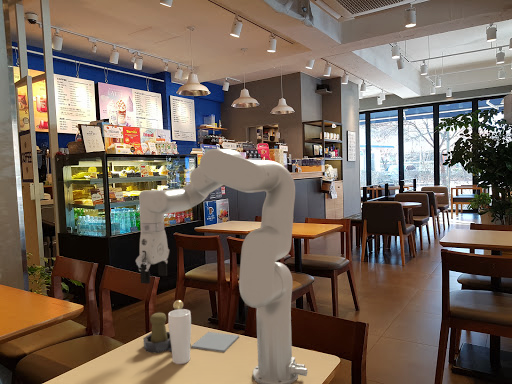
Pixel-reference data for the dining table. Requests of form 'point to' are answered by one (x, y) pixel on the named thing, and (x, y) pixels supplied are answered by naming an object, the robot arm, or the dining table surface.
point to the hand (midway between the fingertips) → (154, 279)
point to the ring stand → (162, 345)
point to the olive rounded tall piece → (158, 327)
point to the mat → (215, 341)
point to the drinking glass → (180, 335)
